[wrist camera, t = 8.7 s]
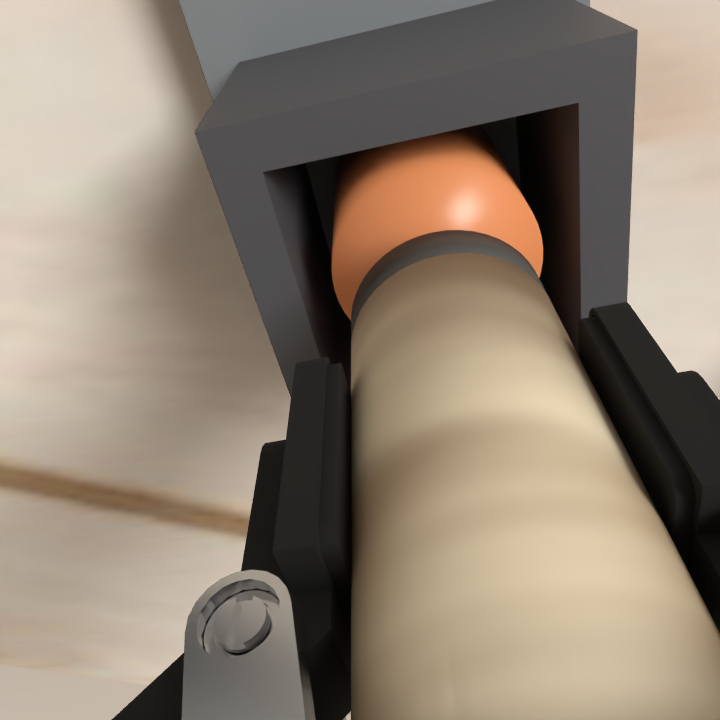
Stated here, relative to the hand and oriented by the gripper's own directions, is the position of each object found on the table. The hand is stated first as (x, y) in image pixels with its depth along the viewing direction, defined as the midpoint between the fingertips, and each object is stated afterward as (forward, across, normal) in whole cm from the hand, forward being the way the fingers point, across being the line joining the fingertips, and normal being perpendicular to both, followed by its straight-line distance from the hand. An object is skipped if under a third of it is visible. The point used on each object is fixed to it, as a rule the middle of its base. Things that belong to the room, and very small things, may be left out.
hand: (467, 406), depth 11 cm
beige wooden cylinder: (+3, 0, 0) cm, 3 cm away
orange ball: (+9, 0, -1) cm, 9 cm away
